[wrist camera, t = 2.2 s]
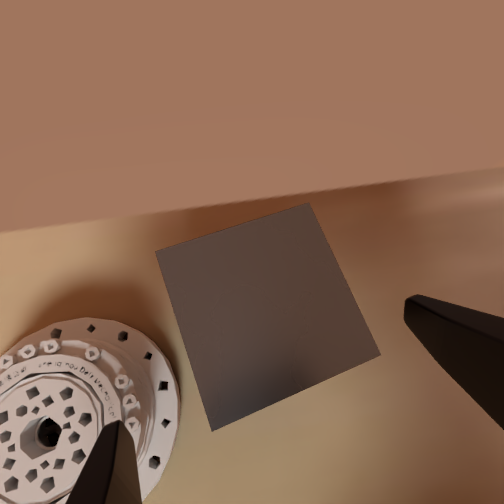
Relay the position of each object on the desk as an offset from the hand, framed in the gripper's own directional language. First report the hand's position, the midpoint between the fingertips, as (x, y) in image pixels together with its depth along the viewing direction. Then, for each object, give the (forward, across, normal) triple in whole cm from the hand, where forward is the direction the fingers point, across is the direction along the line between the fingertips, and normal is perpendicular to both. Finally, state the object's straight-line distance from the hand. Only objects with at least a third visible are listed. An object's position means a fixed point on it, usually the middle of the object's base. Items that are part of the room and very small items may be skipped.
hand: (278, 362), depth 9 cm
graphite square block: (+8, 0, +6) cm, 10 cm away
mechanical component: (+7, +9, +7) cm, 13 cm away
